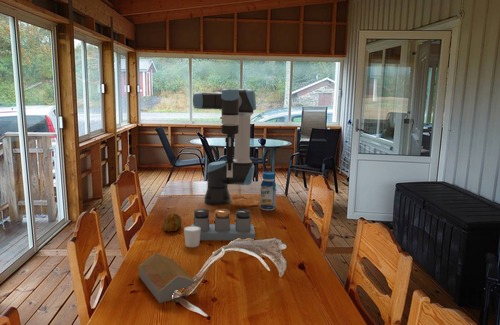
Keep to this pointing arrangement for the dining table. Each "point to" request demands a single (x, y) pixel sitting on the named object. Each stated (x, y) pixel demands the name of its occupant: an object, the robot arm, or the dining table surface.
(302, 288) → the dining table surface
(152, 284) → the house model
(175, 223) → the rock
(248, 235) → the mount
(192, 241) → the white candle
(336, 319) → the dining table surface
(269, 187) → the beverage bottle
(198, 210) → the knob
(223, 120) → the robot arm
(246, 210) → the knob
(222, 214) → the knob mid
